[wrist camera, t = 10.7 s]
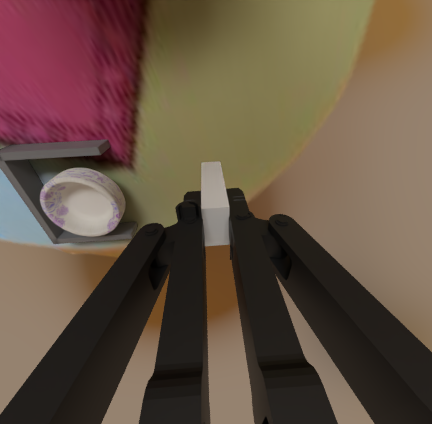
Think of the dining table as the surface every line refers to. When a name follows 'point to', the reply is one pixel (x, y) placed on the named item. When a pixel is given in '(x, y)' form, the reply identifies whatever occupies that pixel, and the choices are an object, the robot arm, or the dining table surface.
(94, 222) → the paper bowls
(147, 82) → the dining table surface
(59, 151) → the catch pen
